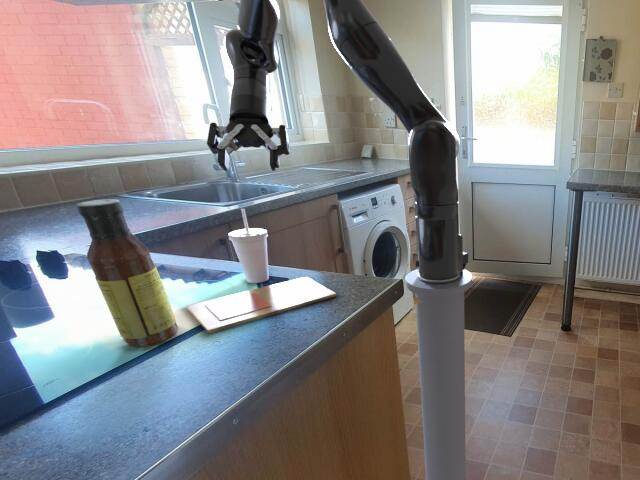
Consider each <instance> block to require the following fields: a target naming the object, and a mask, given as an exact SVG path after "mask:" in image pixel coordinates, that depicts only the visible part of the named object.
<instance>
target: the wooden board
mask: <svg viewBox="0 0 640 480" xmlns="http://www.w3.org/2000/svg"><path fill="white" fill-rule="evenodd" d="M335 297H338V296H337V292H335V291H333V290H331V289H329V288H328V287H326V286H324V285H323V284H321V283H319V282H318V281H316V280H314V279H312V278H311V277H309V276H303V277H299V278H294V279H290V280H287V281H281V282H278V283H273V284H269V285H266V286H261V287H256V288H254V289H249V290H244V291H241V292H238V293H233V294H229V295H225V296H219V297H217V298H212V299H208V300H204V301H201V302H200V301H199V302H196V303H192V304H187V305H185V307H186V310H187V311H188V312H189V313H190V314H191V316H193V317H194V319H195V320H196V321H197V322H198V323H199V325H201V327H202V329H204V330H205V331H206V333H208V334H212V333H215V332H219V331H223V330H227V329H230V328H233V327H237V326H240V325H243V324H246V323H251V322H253V321H257V320H260V319H264V318H267V317H270V316H274V315H277V314H281V313H284V312H288V311H291V310H294V309H298V308H301V307H304V306H308V305H311V304H315V303H319V302H323V301H325V300H329V299H332V298H335Z"/></svg>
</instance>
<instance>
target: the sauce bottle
mask: <svg viewBox="0 0 640 480" xmlns="http://www.w3.org/2000/svg"><path fill="white" fill-rule="evenodd" d="M76 208H77V211H78V215H80V217H82V218H83V220H84V222H85V225H86V228H87V229H88V233H89V237H90V239H91V242H90V245H89V247H88V249H87V253H86V254H87V255H86V258H87V261H88V262H89V265H90V268H91V269H92V271H93V272H92V273H94V276H95V277H94V278H95V281H96V283H97V285H98V288H99V289H100V292H101V295H102V296H103V298H104V300H105V303H106V306H107V307H108V310H109V313H110V314H111V317H112V319H113V322H114V324H115V326H116V328H117V331H118V333H119V335H120V338H122V339H123V341H124V343H125V344H127V345H128V346H129V347H134V348H141V347H147V346H148V347H149V346H151V347H152V346H155V345H158V344H161V343H164V342H167V341H169V340H171V339H172V338H173V337H175V336H176V335H177V333H179V331H178V330H179V326H178V324H177V319H176V316H175V314H174V310H173V308H172V304H171V303H170V300H169V298H168V294H167V292H166V290H165V287H164V284H163V282H162V281H163V280H162V279H161V276H160V274H159V271H158V268H157V266H156V263H155V262H154V261H153V259H152V256H151V253H150V250H149V248H148V247H147V246H146V245H145V244H143V243H142V242H141V241H140V240H139V239H138V238H137V237H136V236H135V235H134V234H133V233H132V232H131V228H129V227H128V223H127V221H126V218H125V215H124V208H123V205H122V203H121V201H120V200H119V199H114V198H113V199H112V198H111V199H95V200H86V201H82V202H79V203H77V204H76Z"/></svg>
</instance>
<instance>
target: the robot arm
mask: <svg viewBox="0 0 640 480" xmlns="http://www.w3.org/2000/svg"><path fill="white" fill-rule="evenodd" d="M322 2H323V6H324V11H325V17H326V23H327V28H328V33H329V36H330V40H331V42H332V44H333V46H334V48H335V49H336V51H337V52H338V54H339V55H340V56H341V58H342V59H343V60H344V62H345V63H346V64H347V65H348V67H349V68H350V70H351V71H352V72H353V74H355V76H356V77H357V78H358V80H359V81H361V83H362V84H363V85H364V86H365V87H366V88H367V89H368V90H369V91H370V92H371V93H372V94H374V95H375V97H377V98H378V99H379V100H380V101H381V102H382V103H383V104H384V105H385V106H387V107H388V108H389V110H390V111H391V112H392V113H394V115H395V116H396V117H397V118H398V120H399V121H400V123H401V125H403V127H404V128H405V130H406V132H407V134H409V137H408V144H407V145H408V147H407V148H408V151H407V152H408V166H409V175H410V177H409V179H410V186H411V189H412V192H413V200H414V216H415V232H416V235H415V236H416V251H417V253H416V254H417V260H416V261H415V262H414V263H415V269H418V278H419V280H421V281H422V282H425V283H429V284H446V283H451V282H454V281H456V280H458V279H459V278H460V276H463V270H464V269H465V268H466V266H467V264H468V263H469V253H468V252H465V251H464V242H463V241H464V240H463V239H464V237H463V236H462V235H463V234H460V208H459V207H460V206H459V205H460V202H459V199H460V196H459V195H460V194H459V193H460V191H459V188H458V182H457V157H458V155H459V152H460V147H461V146H460V145H461V144H460V138H459V135H458V133H457V131H456V130H455V128H454V127H453V126H452V124H450V122H449V121H448V120H447V119H446V118H445V117H444V115H442V113H441V112H440V111H439V110H438V108H436V106H435V105H434V103H432V102H431V100H430V99H429V98H428V96H427V95H426V93H424V91H423V90H422V88H421V87H420V85H419V83H418V82H417V80H416V78H415V77H414V75H413V74H412V73H413V72H412V71H411V70H410V68H409V67H408V65H407V64H406V62H405V61H404V59H403V57H402V56H401V55H400V53H399V51H398V50H397V47H396V46H395V45H394V43H393V42H392V40H391V38H389V36H388V35H387V33H386V32H385V31H384V29H383V28H382V26H381V25H380V24H379V22H378V21H377V20H376V18H375V17H374V16H373V14H372V13H371V11H370V10H369V8H368V7H367V6H366V5H365V3H364V2H363V0H322ZM237 15H238V16H237V28H238V29H237V28H233V29H231V30H229V31H227V32H226V34H225V36H224V39H223V44H224V45H223V46H224V51H225V54H226V57H227V60H228V63H229V64H230V67H231V71H232V80H231V85H232V86H231V89H230V93H229V94H230V96H229V109H228V110H229V111H228V113H229V114H228V123H227V124H226V126H221V125H218V124H217V123H216V122H210V124H209V128H208V135H207V139H206V146H207V147H208V148H209V150H210V152H211V153H212V155H213V154H214V155H217V163H218V165H219V167H220V168H221V169H223V171H229V170H230V155H231V154H232V153H233V152H237V151H238V150H239V149H240V148H258V149H259V148H261V147H263V148H264V149H265V150H266V151H268V152H269V166H270V169H271V171H272V172H275V171H276V172H277V169H279V168H280V165H281V163H280V162H281V161H280V160H281V159H280V157H281V156H282V155H285V156H287V155H288V156H289V155H290V153H291V152H290V151H291V150H290V142H289V141H290V140H289V133H288V131H287V128H286V125H284V124H280V125H279V126H278V127H272V111H273V106H272V99H271V78H270V75H269V74H272V73H274V72H276V71H277V70H278V68H279V65H280V55H279V49H278V46H277V33H278V30H279V25H280V19H281V8H280V5H279V1H278V0H239V7H238V13H237ZM274 135H275V136H276V137H277V138H278V139H279V141H280V144H278V145H277V144H276V143H275V142H274V141H272V138H273V137H274ZM223 138H224V139H223ZM221 139H223V140H222V141H221Z"/></svg>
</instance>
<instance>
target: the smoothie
mask: <svg viewBox="0 0 640 480" xmlns="http://www.w3.org/2000/svg"><path fill="white" fill-rule="evenodd" d="M240 210H241V215H242V216H241V217H242V220H243V225H244V228H241V229H235V230H233V231H230V232H229V233H228V234H227V235H228V240H229V241H231V243H232V245H233V248H234V249H233V250H235V254H236V257H237V258H238V261H239V263H240V267H241V268H242V271H243V274H244V277H245V279H246V281H247V283H249V284H261V283H264V282H266V281H269V279H270V276H269V275H270V274H269V258H268V239H267V238H268V237H269V234H268V230H267V229H264V228H259V227H251V228H250V227H249V223H248V217H247V214H246V209H245V208H240Z"/></svg>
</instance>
